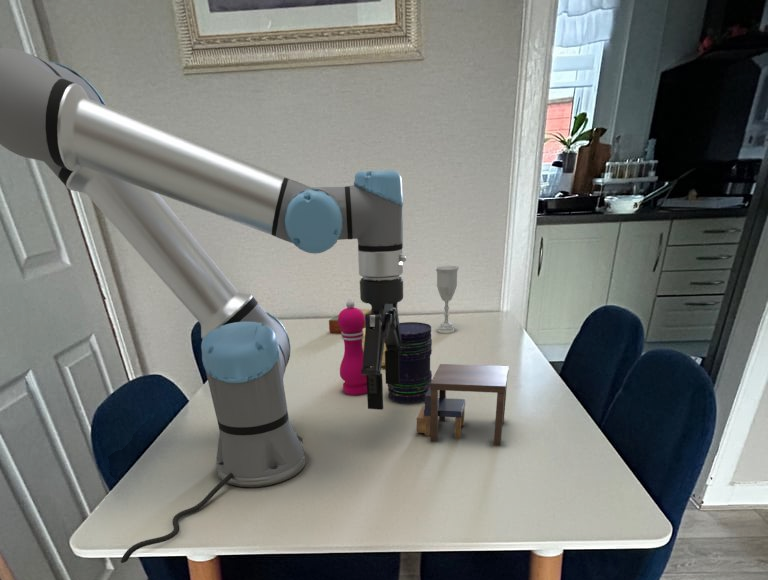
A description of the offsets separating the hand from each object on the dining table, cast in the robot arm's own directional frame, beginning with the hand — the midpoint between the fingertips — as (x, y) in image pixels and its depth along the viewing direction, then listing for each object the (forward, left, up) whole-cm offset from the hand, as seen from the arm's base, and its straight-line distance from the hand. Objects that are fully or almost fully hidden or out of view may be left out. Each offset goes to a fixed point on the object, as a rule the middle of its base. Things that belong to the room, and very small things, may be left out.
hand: (384, 395), depth 104 cm
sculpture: (+40, +10, -7) cm, 42 cm away
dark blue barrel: (+17, -1, -7) cm, 18 cm away
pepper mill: (+19, +12, -7) cm, 23 cm away
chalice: (+73, -1, -7) cm, 73 cm away
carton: (+75, +30, -7) cm, 81 cm away
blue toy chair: (0, -11, -7) cm, 13 cm away
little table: (0, -16, -7) cm, 18 cm away
